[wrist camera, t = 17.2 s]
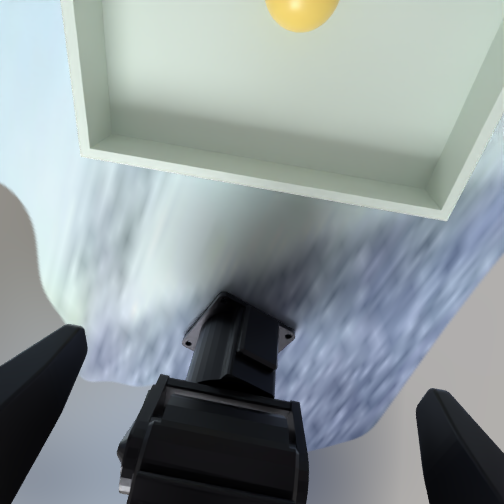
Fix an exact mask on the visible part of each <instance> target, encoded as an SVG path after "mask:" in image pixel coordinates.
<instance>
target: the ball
mask: <svg viewBox="0 0 504 504" xmlns="http://www.w3.org/2000/svg"><path fill="white" fill-rule="evenodd" d="M265 3H266V6H267V9H268V11H269V13H270V15H271V16H272V18H273V19H274V20H275V21H276V22H277V23H278V24H279V25H280V26H281V27H283V28H284V29H286V30H288V31H292V32H296V33H303V32H309V31H312V30H314V29H316V28H318V27H320V26H321V25H323V24H324V23H325V22H326V21H327V20H328V19H329V18H330V17H331V15H332V14H333V13H334V11H335V9H336V7H337V5H338V3H339V0H265Z"/></svg>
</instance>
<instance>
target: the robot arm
mask: <svg viewBox="0 0 504 504" xmlns="http://www.w3.org/2000/svg"><path fill="white" fill-rule="evenodd" d="M224 298H225V299H227V300H223V299H224ZM287 334H290V335H287ZM294 339H295V331H294V330H293V329H292V328H290V327H288V326H287V325H285V324H283V323H281V322H280V321H278V320H276V319H274V318H272V317H271V316H269V315H267V314H265V313H263V312H262V311H260V310H258V309H256V308H255V307H253V306H251V305H249V304H247V303H246V302H244V301H242V300H240V299H238V298H237V297H235V296H233V295H231V294H229V293H227V292H222V293H220V294H219V295H218V296H217V298H216V299H215V300H214V301H213V302H212V304H211V305H210V306H209V307H208V308H207V310H206V311H205V312H204V313H203V314H202V316H201V317H200V318H199V319H198V321H197V322H196V323H195V324H194V325H193V327H192V328H191V329H190V330H189V331H188V333H187V334H186V335H185V336H184V338H183V341H182V344H183V346H185V347H186V348H188V349H190V350H192V351H194V353H193V357H192V360H191V364H190V367H189V370H188V374H187V377H186V381H185V380H180V379H175V378H170V377H169V376H168V375H163V374H160V376H159V378H158V381H157V383H156V385H154V384H153V386H152V388H151V390H149V391H148V394H147V396H146V399H145V401H144V404H143V406H142V409H141V410H140V413H139V414H138V416H137V419H136V420H135V421H134V423H133V425H132V426H131V427H130V429H129V430H128V432H127V433H126V435H125V436H124V438H123V439H122V441H121V442H120V444H119V447H118V450H117V456H118V458H119V460H120V462H121V471H120V473H121V477H120V483H119V492H120V493H122V494H127V495H129V496H128V500H127V504H306V500H307V494H308V482H309V462H308V453H307V447H306V441H305V434H304V428H303V422H302V415H301V409H300V403H299V402H296V401H290V402H289V401H284V400H279V399H274V397H275V377H276V369H277V365H278V353H279V352H280V351H281V350H283V349H284V348H285V347H286V346H287V345H288V344H289V343H290V342H292V341H293V340H294ZM188 341H189V342H188ZM86 354H87V341H86V336H85V330H84V328H83V327H82V326H77V325H72V324H67V325H64V326H62V327H61V328H59V329H58V330H56V331H54V332H53V333H51V334H50V335H48V336H47V337H45V338H43V339H42V340H41V341H39V342H37V343H36V344H34V345H33V346H31V347H29V348H28V349H26V350H25V351H23V352H22V353H20V354H18V355H17V356H15V357H14V358H12V359H11V360H9V361H7V362H6V363H4V364H3V365H1V366H0V504H11V503H12V501H13V499H14V498H15V496H16V494H17V492H18V490H19V489H20V487H21V485H22V483H23V481H24V480H25V478H26V476H27V474H28V473H29V471H30V469H31V467H32V465H33V464H34V462H35V460H36V458H37V456H38V455H39V453H40V451H41V449H42V447H43V446H44V444H45V442H46V440H47V438H48V437H49V435H50V433H51V431H52V429H53V428H54V426H55V424H56V422H57V420H58V418H59V417H60V415H61V413H62V411H63V408H64V406H65V404H66V402H67V399H68V397H69V395H70V392H71V390H72V388H73V385H74V383H75V381H76V378H77V376H78V374H79V371H80V369H81V367H82V364H83V362H84V360H85V357H86ZM416 419H417V428H418V436H419V444H420V452H421V461H422V468H423V475H424V481H425V485H426V490H427V494H428V499H429V503H430V504H504V453H503V452H502V451H501V450H500V449H499V447H498V446H497V445H496V444H495V443H494V442H493V441H492V440H491V439H490V438H489V436H488V435H487V434H486V433H485V432H484V431H483V430H482V429H481V427H480V426H479V425H478V424H477V423H476V422H475V421H474V420H473V419H472V417H471V416H470V415H469V414H468V413H467V412H466V411H465V410H464V408H463V407H462V406H461V405H460V404H459V403H458V402H457V401H456V399H454V397H453V396H452V395H451V394H450V393H449V392H447V391H445V390H440V389H434V388H431V389H429V390H428V391H427V393H426V394H425V395H424V397H423V398H422V400H421V401H420V403H419V404H418V405H417V408H416Z"/></svg>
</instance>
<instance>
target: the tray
mask: <svg viewBox="0 0 504 504" xmlns="http://www.w3.org/2000/svg"><path fill="white" fill-rule="evenodd" d="M60 2H61V9H62V17H63V25H64V32H65V40H66V48H67V55H68V63H69V71H70V78H71V86H72V93H73V101H74V109H75V116H76V124H77V132H78V139H79V147H80V155H81V157H85V158H90V159H96V160H102V161H107V162H113V163H119V164H124V165H130V166H136V167H141V168H147V169H153V170H158V171H164V172H170V173H176V174H181V175H187V176H193V177H198V178H204V179H210V180H215V181H221V182H227V183H232V184H238V185H244V186H249V187H255V188H261V189H266V190H272V191H278V192H283V193H289V194H295V195H300V196H306V197H312V198H317V199H323V200H329V201H334V202H340V203H346V204H351V205H357V206H363V207H368V208H374V209H380V210H385V211H391V212H397V213H403V214H408V215H414V216H420V217H425V218H431V219H437V220H442V221H447V220H448V218H449V216H450V214H451V213H452V211H453V209H454V207H455V205H456V203H457V201H458V199H459V197H460V195H461V193H462V192H463V190H464V188H465V186H466V184H467V182H468V180H469V178H470V176H471V174H472V172H473V170H474V169H475V167H476V165H477V163H478V161H479V159H480V157H481V155H482V153H483V151H484V149H485V148H486V146H487V144H488V142H489V140H490V138H491V136H492V134H493V132H494V130H495V128H496V126H497V125H498V123H499V121H500V119H501V117H502V115H503V113H504V0H339V3H338V5H337V7H336V9H335V11H334V13H333V14H332V15H331V17H330V18H329V19H328V20H327V21H326V22H325V23H324V24H323V25H321V26H320V27H318V28H316V29H314V30H312V31H309V32H303V33H296V32H292V31H288V30H286V29H284V28H283V27H281V26H280V25H279V24H278V23H277V22H276V21H275V20H274V19H273V18H272V16H271V15H270V13H269V11H268V9H267V6H266V3H265V0H60Z"/></svg>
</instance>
